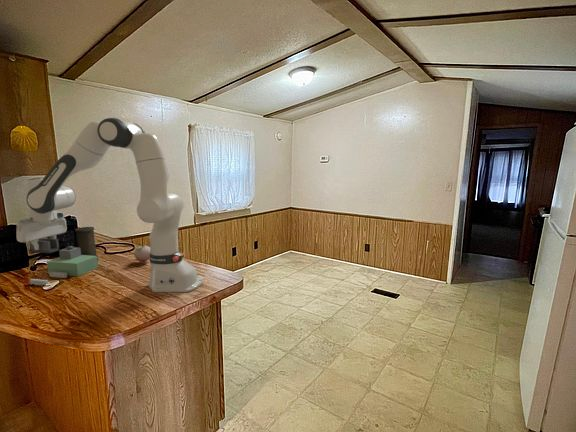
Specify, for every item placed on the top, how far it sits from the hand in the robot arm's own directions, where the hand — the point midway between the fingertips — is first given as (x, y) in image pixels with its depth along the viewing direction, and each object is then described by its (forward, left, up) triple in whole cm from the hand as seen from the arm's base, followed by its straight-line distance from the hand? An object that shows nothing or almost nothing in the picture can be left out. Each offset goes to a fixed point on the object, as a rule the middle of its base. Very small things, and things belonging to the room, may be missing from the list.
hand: (45, 247), depth 135 cm
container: (+4, -26, -15) cm, 30 cm away
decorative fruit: (-25, -31, -15) cm, 43 cm away
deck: (0, -7, -15) cm, 17 cm away
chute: (0, 0, -2) cm, 2 cm away
